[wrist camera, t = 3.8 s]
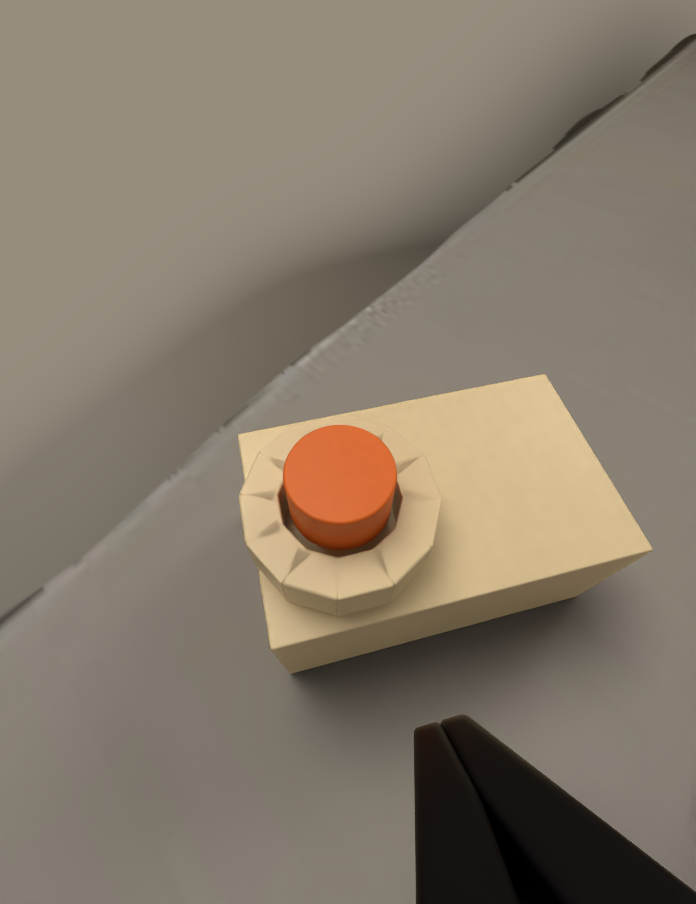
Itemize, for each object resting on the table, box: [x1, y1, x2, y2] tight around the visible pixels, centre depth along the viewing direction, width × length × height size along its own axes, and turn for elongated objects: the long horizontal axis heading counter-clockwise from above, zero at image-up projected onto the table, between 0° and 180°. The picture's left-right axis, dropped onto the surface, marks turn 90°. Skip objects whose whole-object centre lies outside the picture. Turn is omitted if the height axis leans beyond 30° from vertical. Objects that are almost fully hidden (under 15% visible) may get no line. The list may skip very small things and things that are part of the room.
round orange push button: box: [283, 425, 397, 550], centre depth 14 cm, size 3×3×2 cm
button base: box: [238, 374, 653, 674], centre depth 18 cm, size 8×13×8 cm, turn 104°
